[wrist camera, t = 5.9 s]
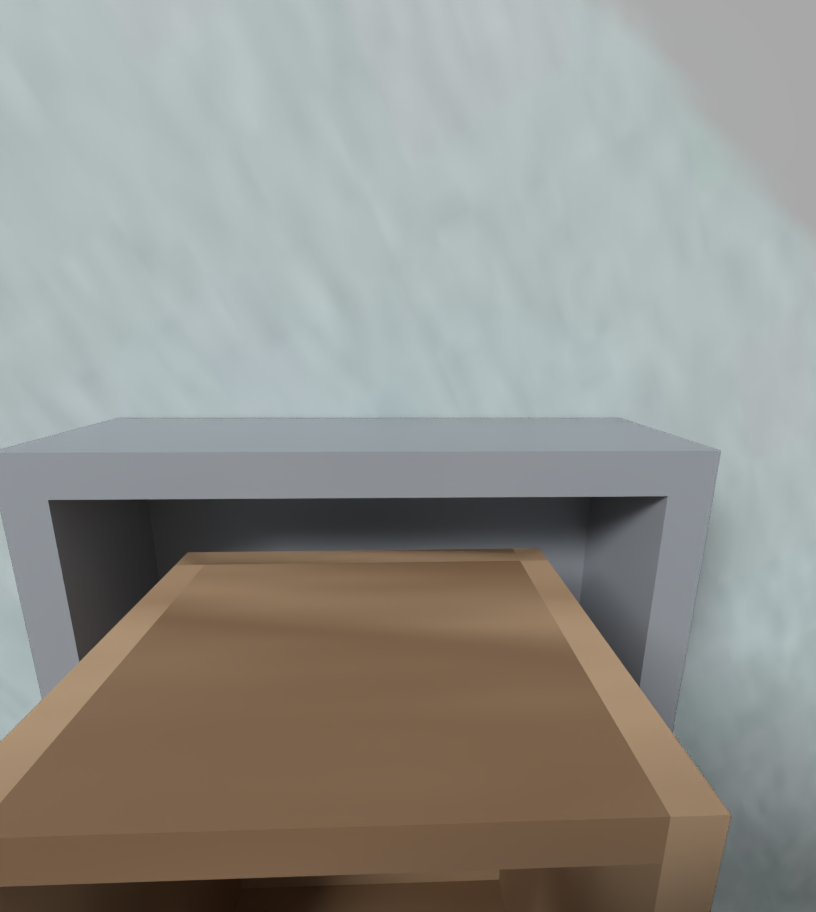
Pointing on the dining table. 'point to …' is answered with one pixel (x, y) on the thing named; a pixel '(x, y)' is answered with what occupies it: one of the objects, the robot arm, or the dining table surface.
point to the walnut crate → (354, 750)
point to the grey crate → (361, 514)
